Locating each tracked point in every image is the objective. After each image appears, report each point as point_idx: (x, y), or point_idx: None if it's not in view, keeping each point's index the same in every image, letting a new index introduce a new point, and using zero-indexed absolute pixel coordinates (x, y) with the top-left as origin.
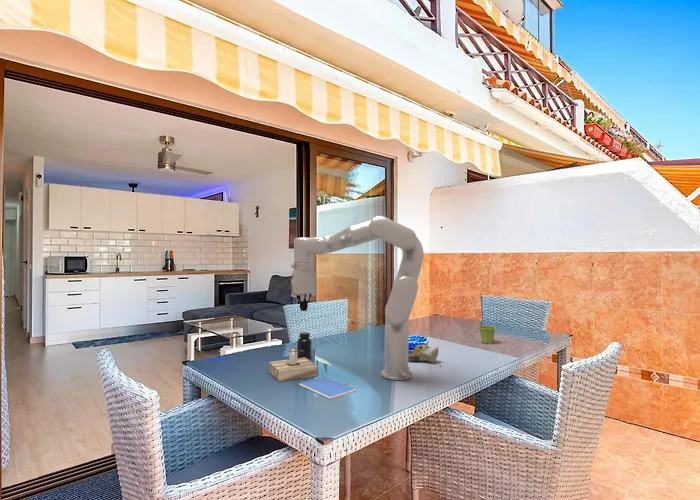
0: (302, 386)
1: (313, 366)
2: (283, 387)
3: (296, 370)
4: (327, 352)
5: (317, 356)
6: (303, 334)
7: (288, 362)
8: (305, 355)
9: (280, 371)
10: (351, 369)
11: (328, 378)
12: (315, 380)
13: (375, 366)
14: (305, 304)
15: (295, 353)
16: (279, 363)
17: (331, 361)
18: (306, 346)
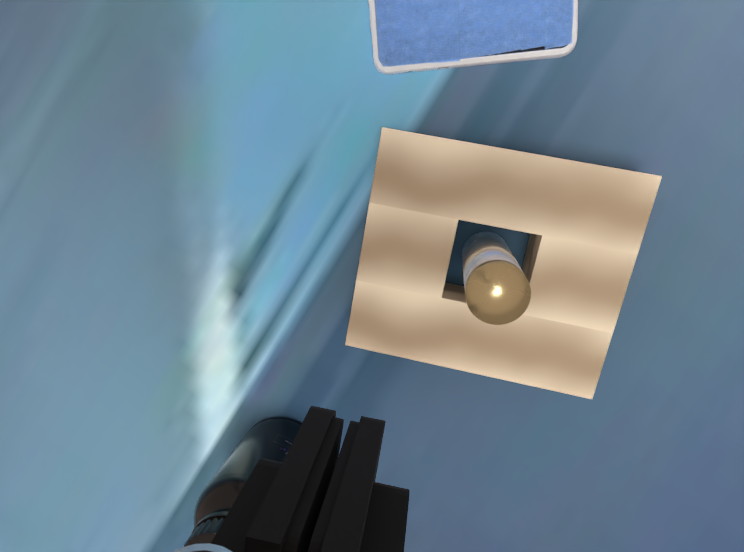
0: (577, 3)
1: (410, 135)
2: (676, 66)
3: (534, 154)
4: (115, 465)
5: (200, 439)
6: None
7: None
8: (287, 434)
9: (653, 175)
10: (158, 111)
11: (375, 19)
12: (462, 35)
13: (10, 72)
14: (308, 491)
15: (495, 257)
16: (556, 333)
17: (180, 313)
18: None
